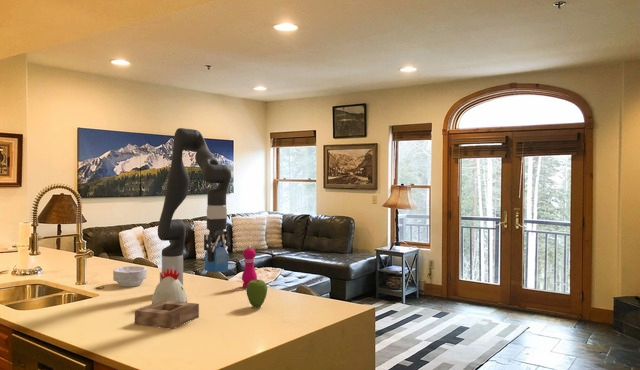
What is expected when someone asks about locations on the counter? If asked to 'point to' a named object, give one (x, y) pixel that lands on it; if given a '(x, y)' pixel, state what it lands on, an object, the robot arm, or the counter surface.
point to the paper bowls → (129, 275)
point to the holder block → (166, 314)
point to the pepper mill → (249, 266)
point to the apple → (256, 292)
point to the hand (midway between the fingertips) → (216, 259)
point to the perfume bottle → (217, 259)
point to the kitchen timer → (169, 288)
